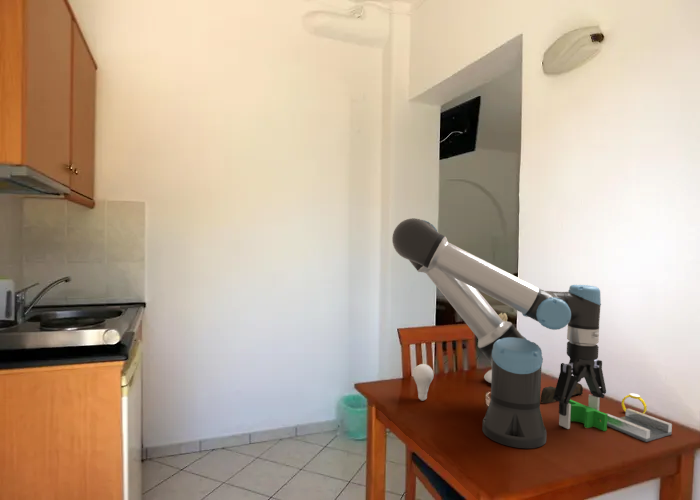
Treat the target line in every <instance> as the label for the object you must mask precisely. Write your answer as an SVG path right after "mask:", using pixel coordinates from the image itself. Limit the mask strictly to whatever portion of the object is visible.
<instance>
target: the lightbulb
mask: <svg viewBox="0 0 700 500" xmlns="http://www.w3.org/2000/svg"><path fill="white" fill-rule="evenodd" d="M434 374H435V373H434V371H433V369H432V367H431V366H430V365H429V364H426V363H420V364H419V365H416V366H415V367H414V369H413V371H412V375H413V376H412V377H413V380H414V382H415V384H416V389H417V395H418V396H417V397H418V399H419V400H420V401H425V400H427V398H428V392H429V387H430V385H431V383H432V381H433V379H434Z"/></svg>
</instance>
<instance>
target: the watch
mask: <svg viewBox="0 0 700 500" xmlns="http://www.w3.org/2000/svg"><path fill="white" fill-rule="evenodd" d="M627 398H630V399H635V400H638V401H639V402H641V403H642V405H643V412H642V413H643V414H646V412H647V411H648V410H647V409H648V405H647V404H646V402H645V400H644V399H643V398H642V397H641V395H640V394H638V393H632V392H631V393H628V395H625V396H623V398H622V400H621V408H622V410H623V412H625V413H626V409H627V408H626V405H625V400H626V399H627Z"/></svg>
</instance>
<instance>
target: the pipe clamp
mask: <svg viewBox="0 0 700 500" xmlns="http://www.w3.org/2000/svg"><path fill="white" fill-rule="evenodd" d="M569 403H570V404H571V414H570V422H576V423H580V424H583V426H584V428H586V429H589V428H597V429H598V430H600V431H603V432H606V431H607V430H608V426H607V415H608V414H609V413H605V412H603V411H600V410H599V411H598V410H596V409H593V408H590V407H588V405H585V404H582V403H580V402H579V401H575V400H573V399H570V401H569Z"/></svg>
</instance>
